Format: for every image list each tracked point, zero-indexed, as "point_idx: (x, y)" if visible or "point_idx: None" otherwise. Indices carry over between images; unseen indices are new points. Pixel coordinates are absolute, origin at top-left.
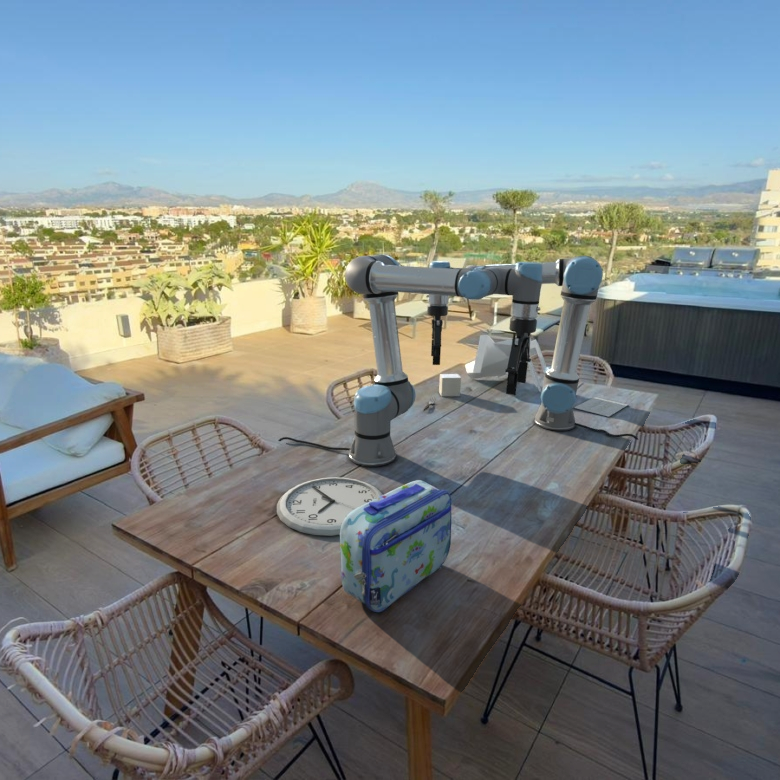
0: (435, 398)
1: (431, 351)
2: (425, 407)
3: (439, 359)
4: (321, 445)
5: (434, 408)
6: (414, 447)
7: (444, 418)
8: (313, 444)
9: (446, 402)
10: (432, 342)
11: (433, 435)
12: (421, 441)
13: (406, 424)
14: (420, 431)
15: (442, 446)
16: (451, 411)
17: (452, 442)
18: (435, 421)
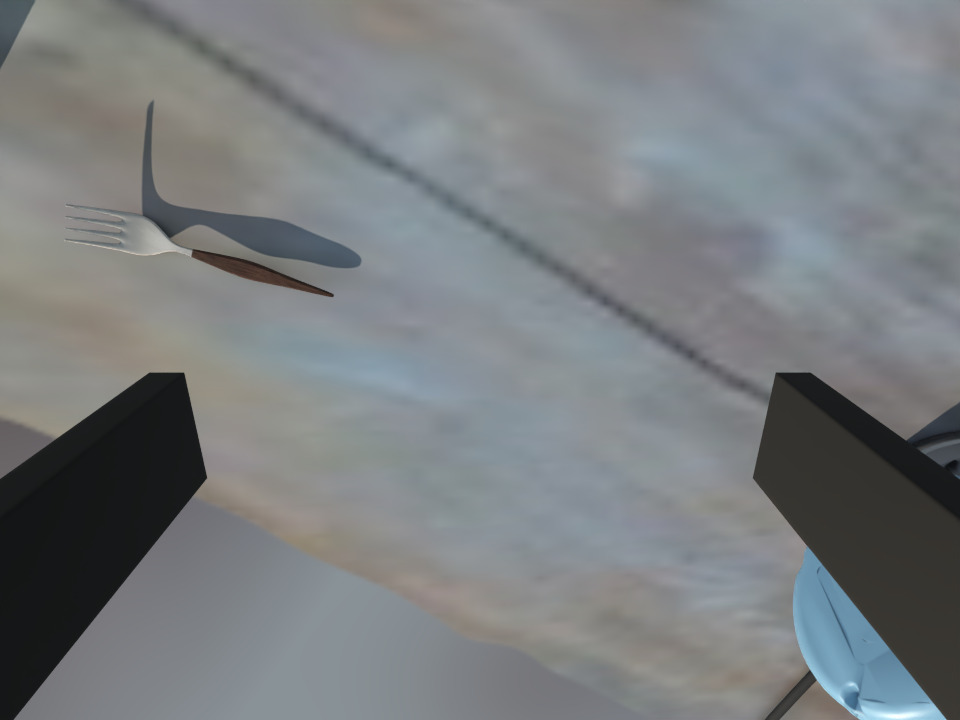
0: (88, 209)
1: (163, 529)
2: (275, 282)
3: (869, 430)
4: (809, 686)
5: (243, 218)
6: (864, 347)
7: (427, 159)
8: (788, 707)
9: (86, 122)
10: (26, 683)
11: (714, 245)
12: (792, 312)
13: (546, 386)
14: (650, 315)
15: (879, 201)
16: (278, 97)
17: (832, 135)
18: (488, 222)
